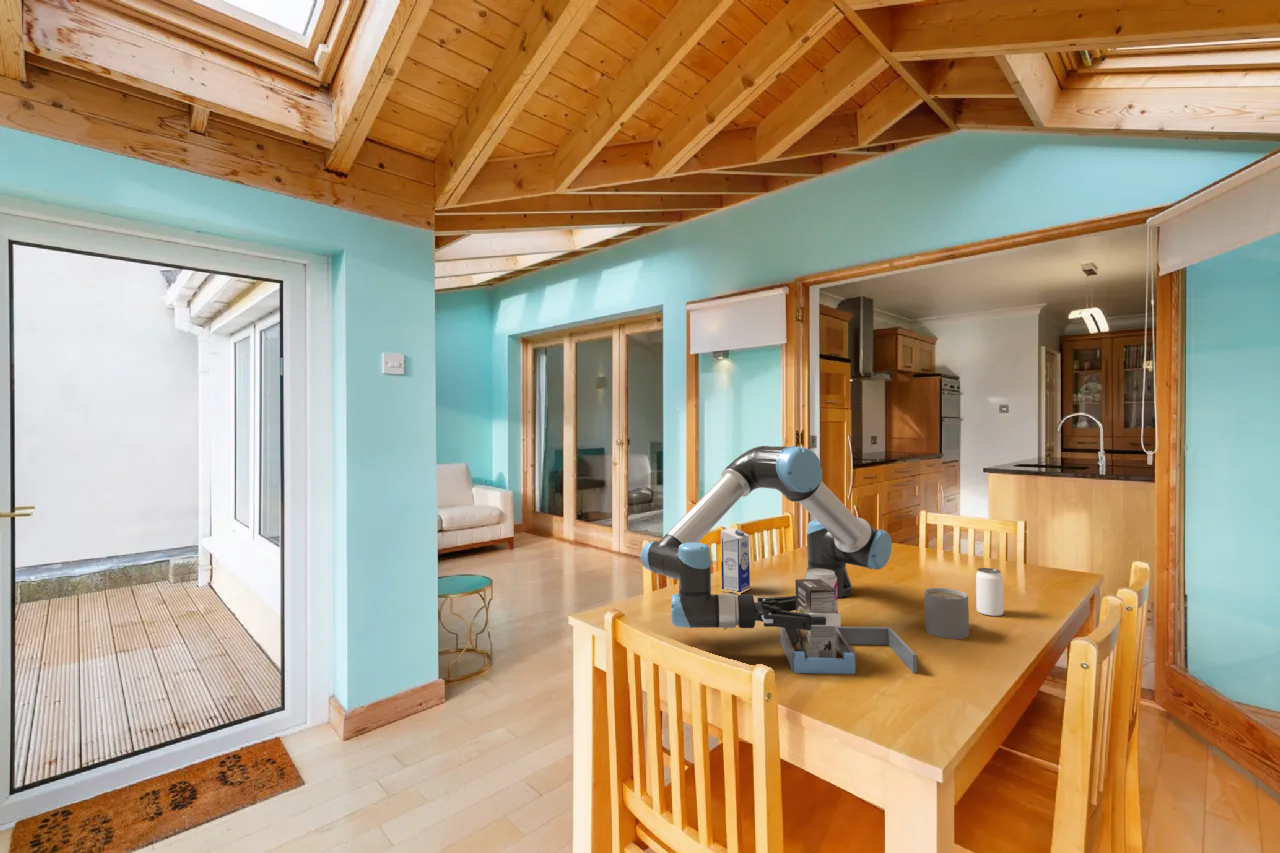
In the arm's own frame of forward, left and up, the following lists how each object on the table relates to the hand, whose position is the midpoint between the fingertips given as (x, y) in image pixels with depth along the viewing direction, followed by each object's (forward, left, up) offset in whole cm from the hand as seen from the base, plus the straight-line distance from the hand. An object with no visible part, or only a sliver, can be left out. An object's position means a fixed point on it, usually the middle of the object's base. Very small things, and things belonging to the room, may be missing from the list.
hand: (834, 612), depth 134 cm
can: (-33, +50, -11) cm, 61 cm away
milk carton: (-53, -19, -11) cm, 57 cm away
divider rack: (0, +2, -10) cm, 11 cm away
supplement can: (-19, +1, -11) cm, 22 cm away
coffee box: (0, -4, -10) cm, 11 cm away
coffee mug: (-19, +33, -11) cm, 40 cm away
